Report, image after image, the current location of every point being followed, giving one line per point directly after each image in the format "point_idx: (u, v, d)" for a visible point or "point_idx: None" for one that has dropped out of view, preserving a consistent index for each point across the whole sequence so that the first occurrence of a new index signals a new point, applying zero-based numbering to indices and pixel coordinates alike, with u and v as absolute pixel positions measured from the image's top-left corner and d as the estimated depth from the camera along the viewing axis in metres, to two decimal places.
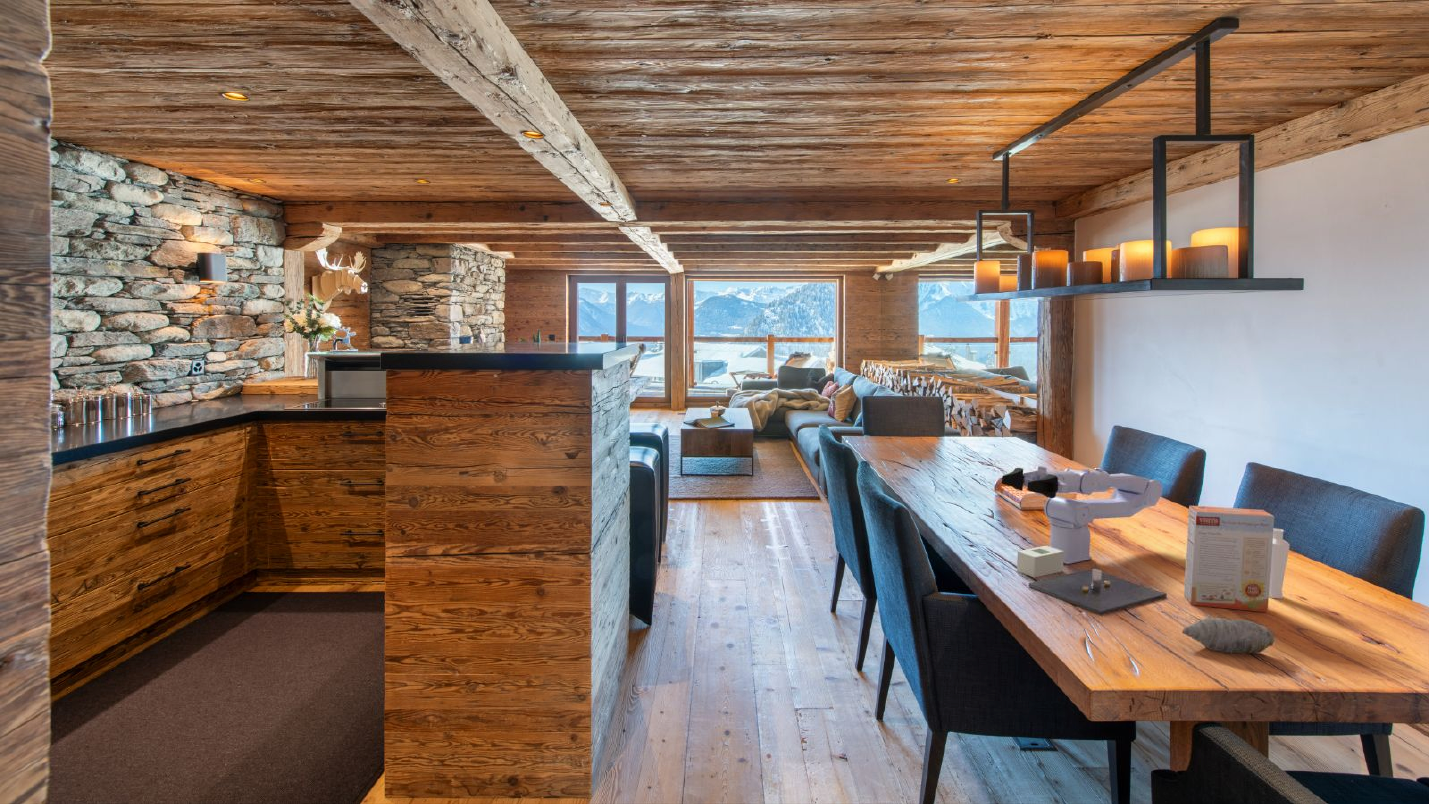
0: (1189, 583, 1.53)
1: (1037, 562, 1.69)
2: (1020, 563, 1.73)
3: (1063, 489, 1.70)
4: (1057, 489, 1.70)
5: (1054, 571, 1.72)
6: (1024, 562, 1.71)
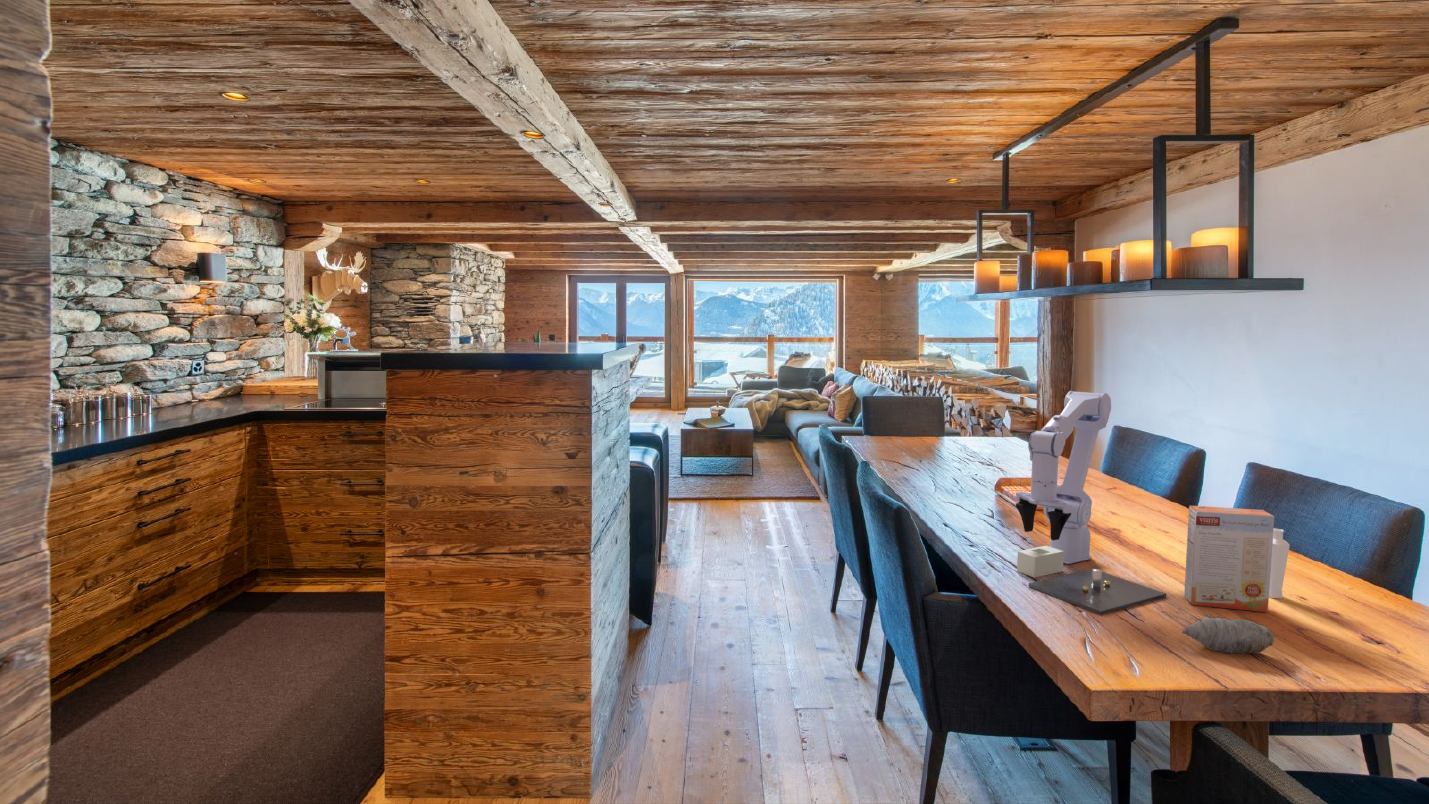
0: (1189, 583, 1.53)
1: (1037, 562, 1.69)
2: (1020, 563, 1.73)
3: (1070, 510, 1.65)
4: (1066, 512, 1.66)
5: (1054, 571, 1.72)
6: (1024, 562, 1.71)
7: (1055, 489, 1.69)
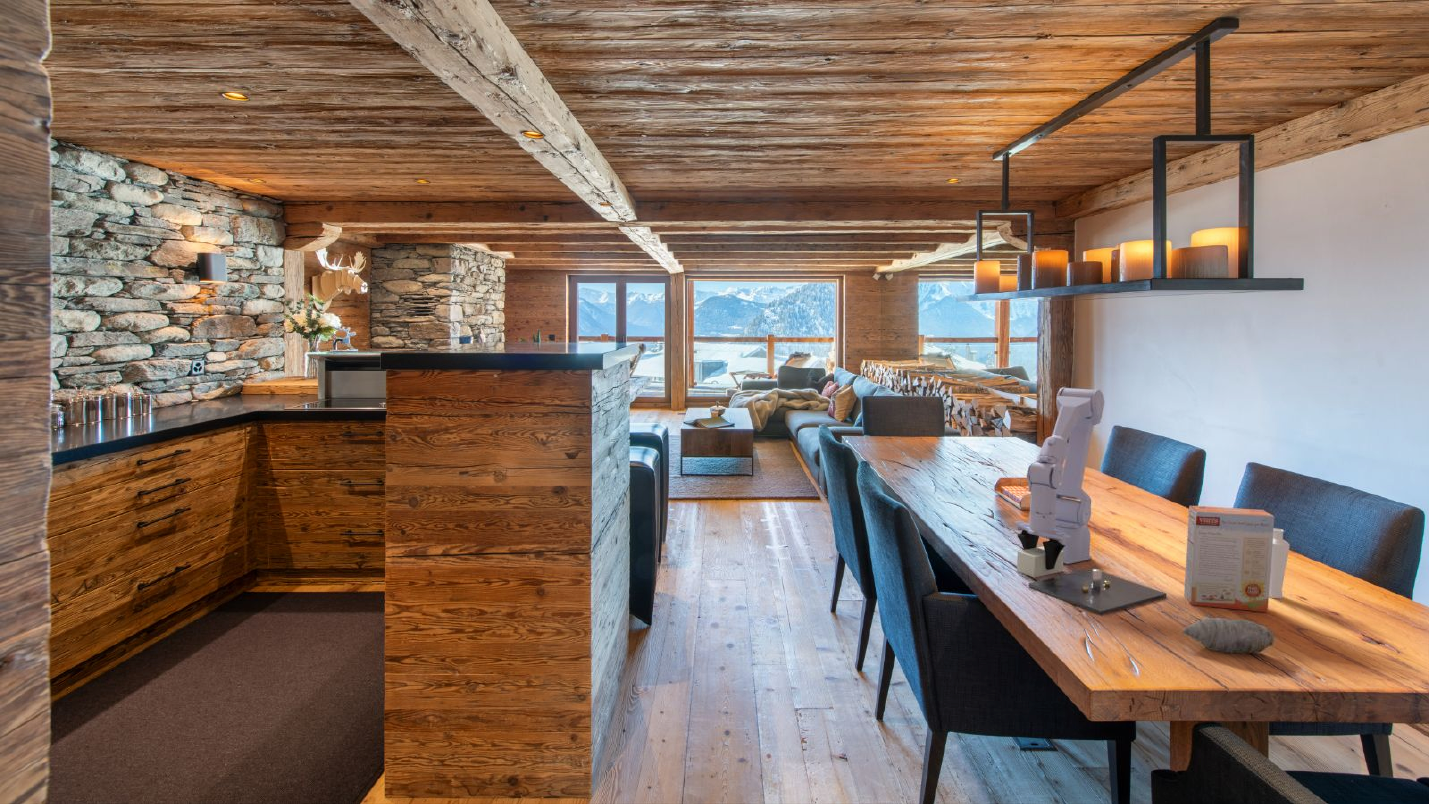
0: (1189, 583, 1.53)
1: (1037, 562, 1.69)
2: (1020, 563, 1.73)
3: (1068, 542, 1.66)
4: None
5: (1054, 571, 1.72)
6: (1024, 562, 1.71)
7: (1053, 520, 1.70)
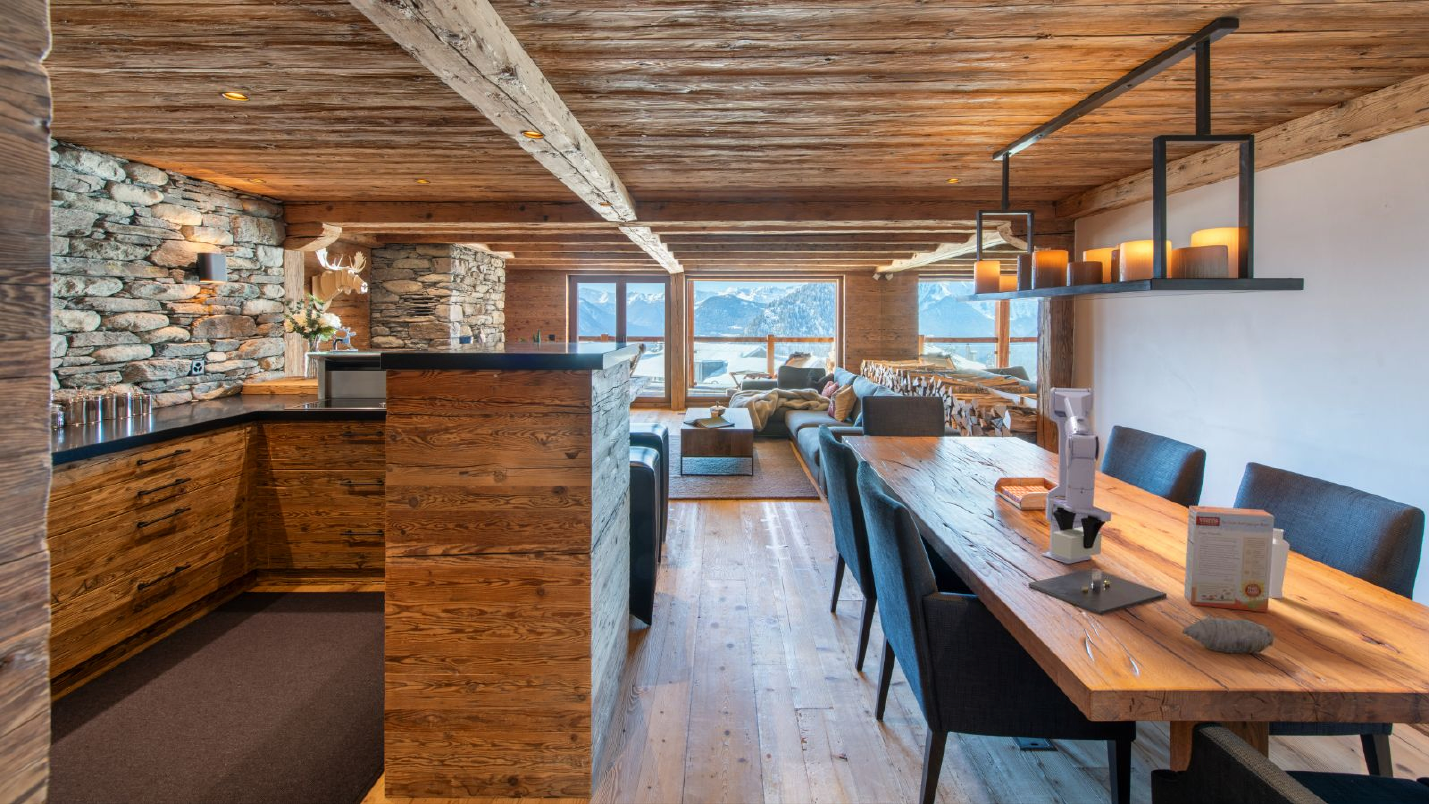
0: (1189, 583, 1.53)
1: (1074, 543, 1.60)
2: (1055, 545, 1.63)
3: (1108, 518, 1.56)
4: None
5: (1091, 553, 1.62)
6: (1060, 543, 1.62)
7: (1092, 496, 1.60)
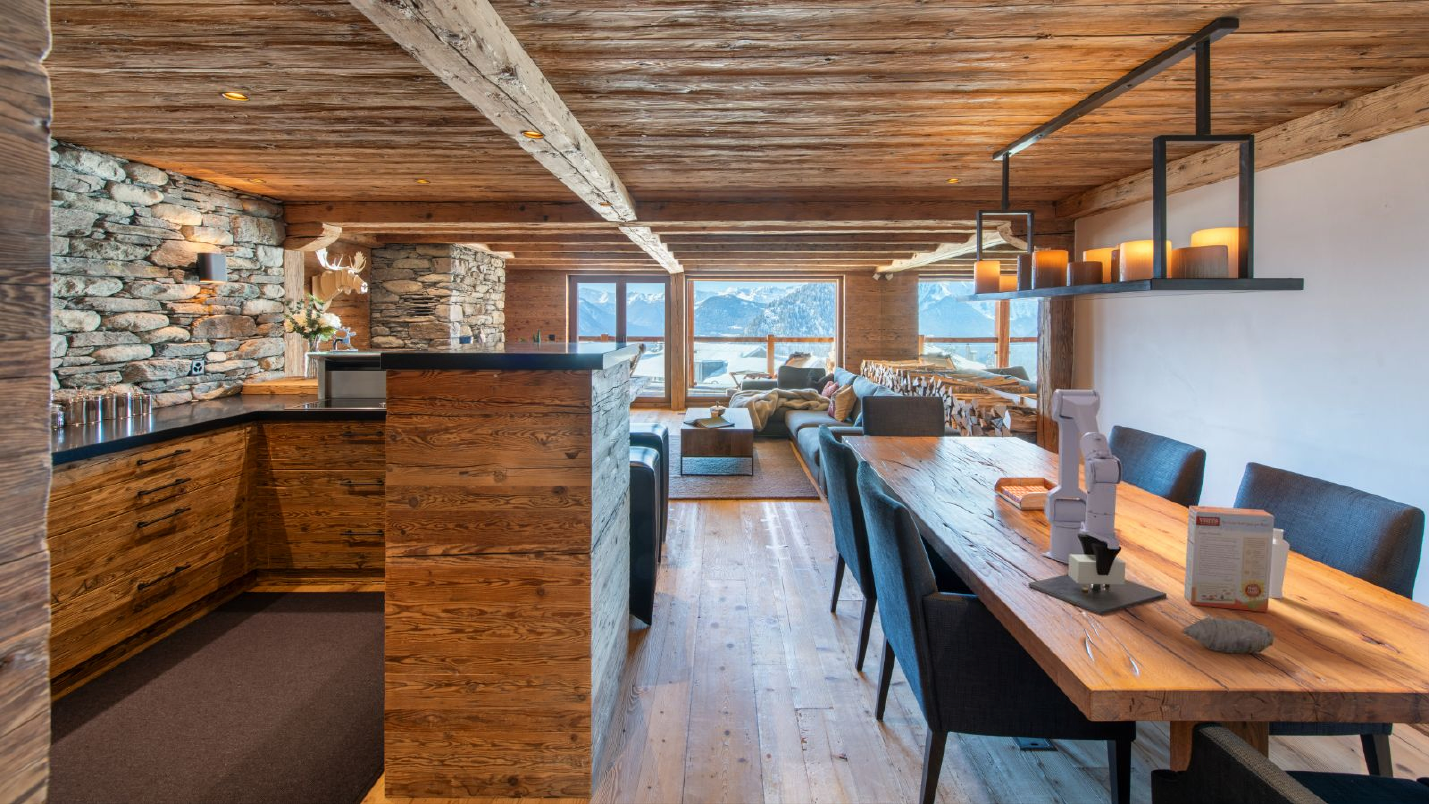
0: (1189, 583, 1.53)
1: (1082, 567, 1.57)
2: (1070, 567, 1.62)
3: (1115, 546, 1.52)
4: None
5: (1110, 582, 1.57)
6: (1072, 566, 1.60)
7: (1108, 522, 1.56)
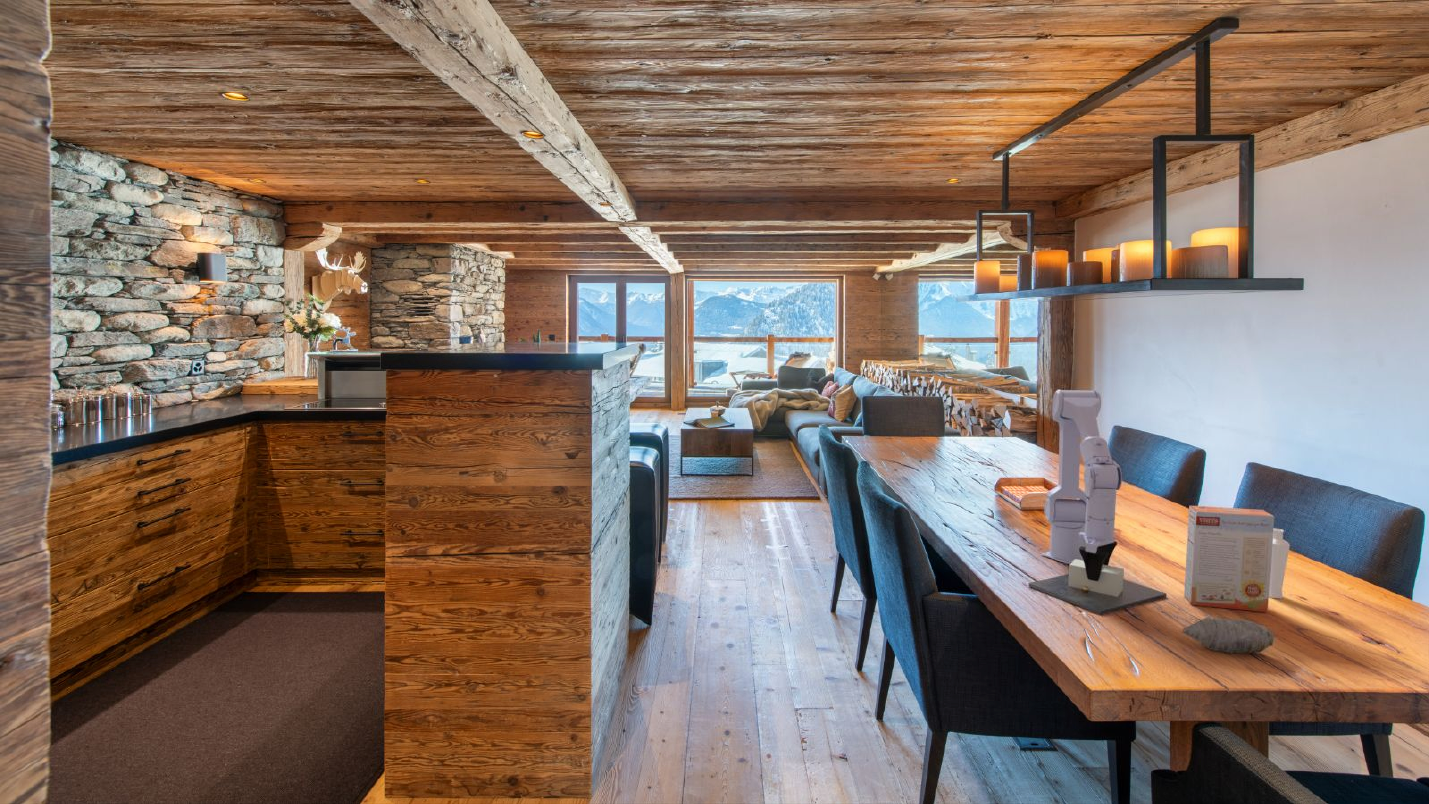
0: (1189, 583, 1.53)
1: (1073, 571, 1.61)
2: None
3: (1091, 549, 1.53)
4: None
5: (1102, 591, 1.57)
6: None
7: (1100, 527, 1.56)
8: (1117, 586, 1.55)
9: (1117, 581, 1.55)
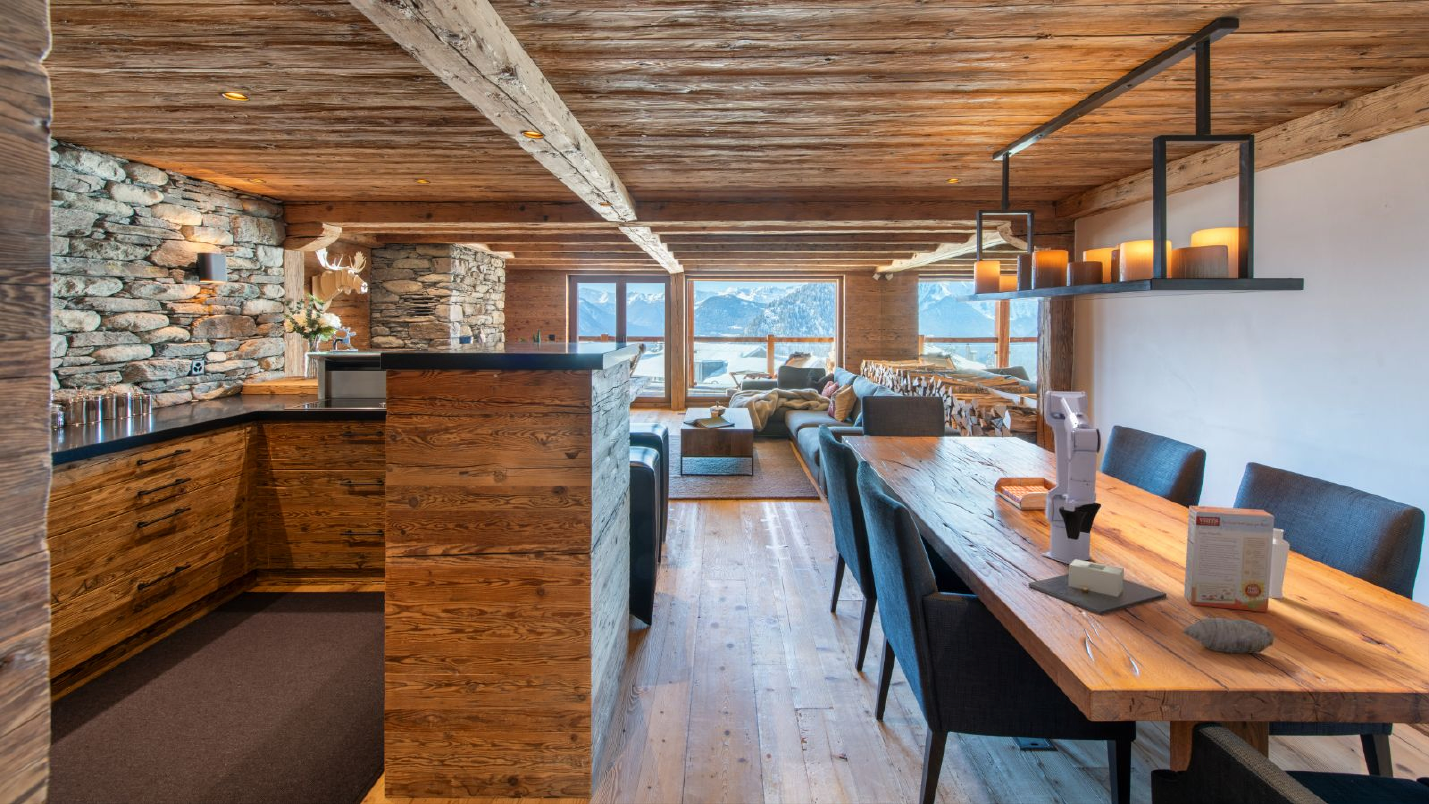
0: (1189, 583, 1.53)
1: (1073, 571, 1.61)
2: None
3: (1069, 508, 1.62)
4: (1072, 511, 1.62)
5: (1102, 591, 1.57)
6: None
7: (1080, 488, 1.64)
8: (1117, 586, 1.55)
9: (1117, 581, 1.55)
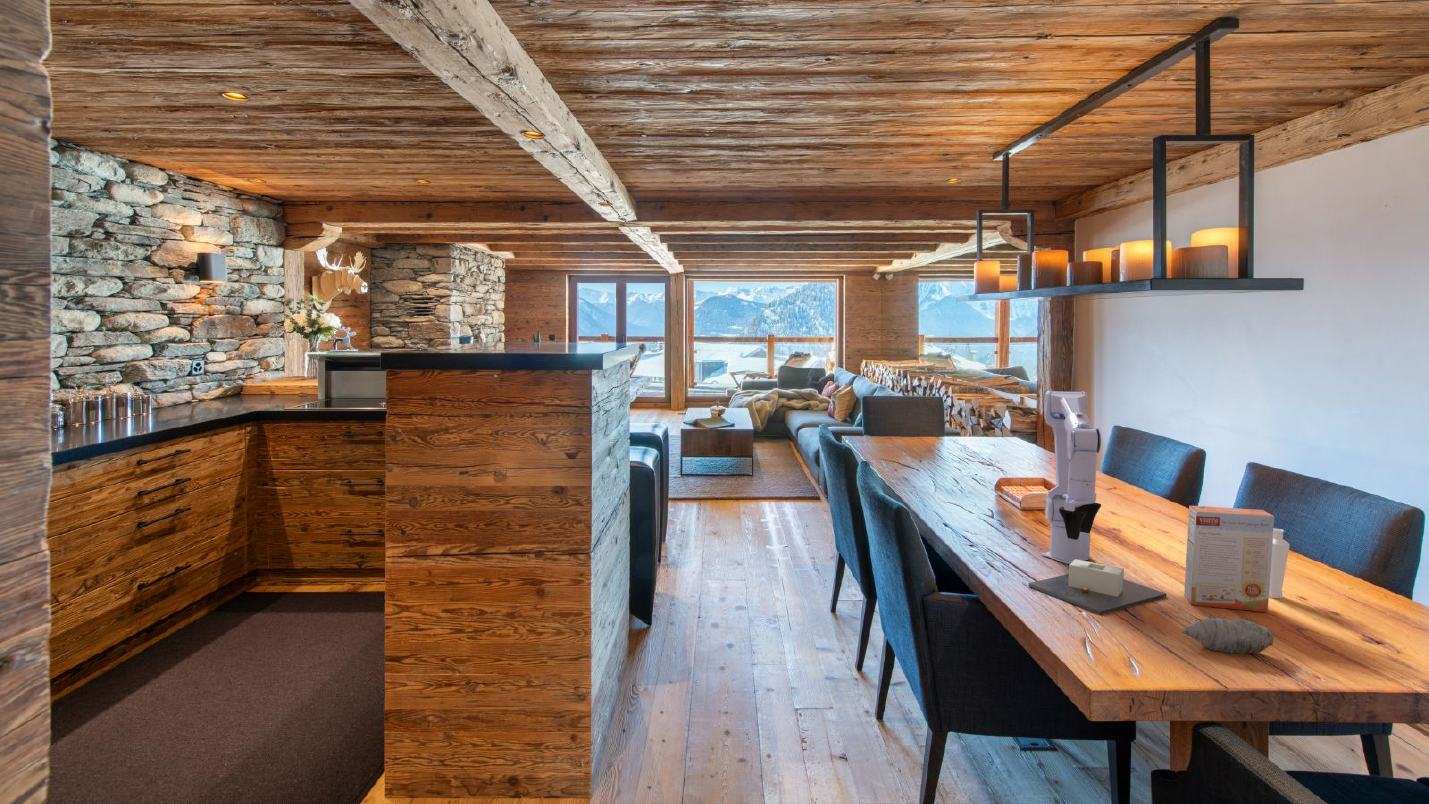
0: (1189, 583, 1.53)
1: (1073, 571, 1.61)
2: None
3: (1069, 508, 1.62)
4: (1072, 510, 1.62)
5: (1102, 591, 1.57)
6: None
7: (1080, 488, 1.64)
8: (1117, 586, 1.55)
9: (1117, 581, 1.55)
